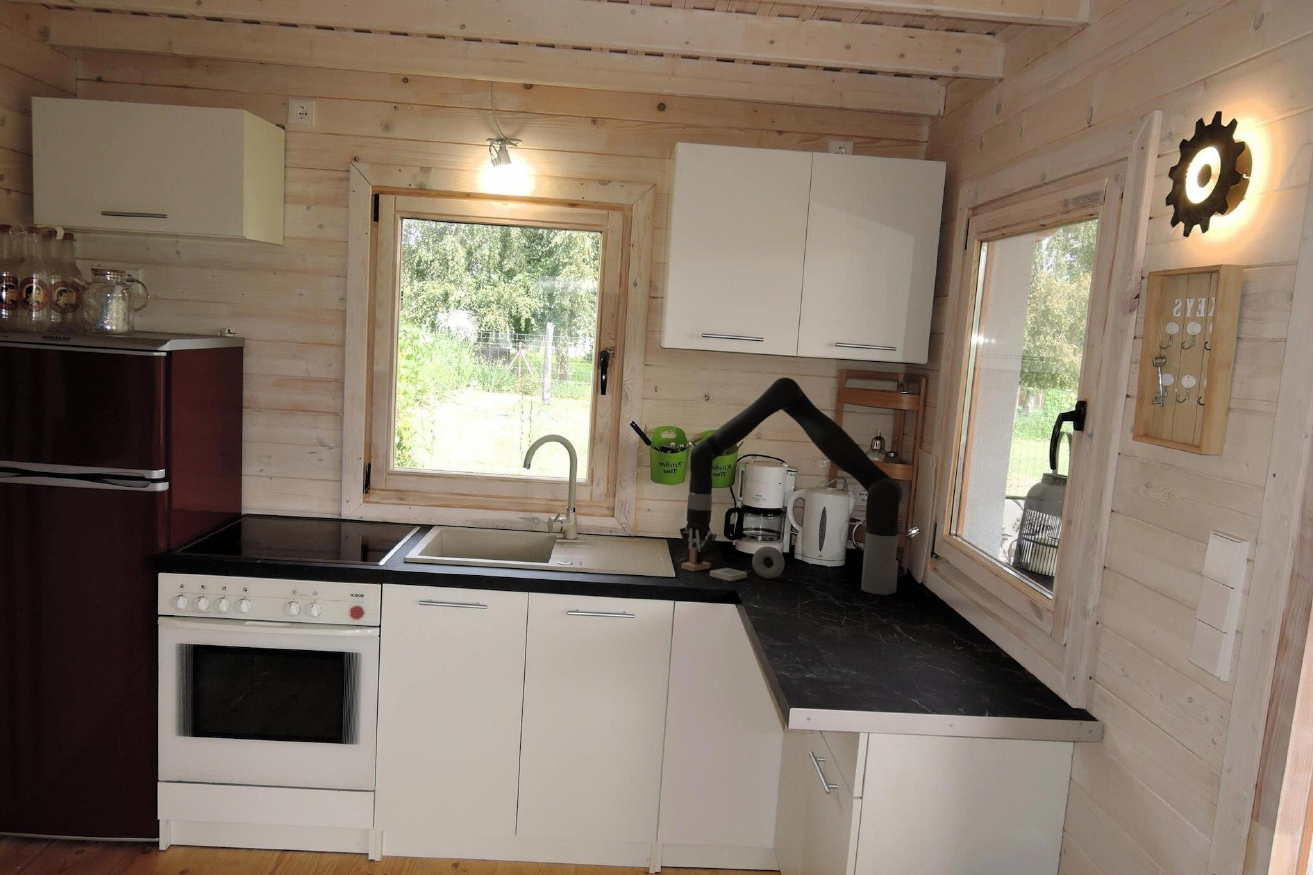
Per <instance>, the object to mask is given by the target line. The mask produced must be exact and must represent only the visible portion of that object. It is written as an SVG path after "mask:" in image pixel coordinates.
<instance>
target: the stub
mask: <svg viewBox="0 0 1313 875" xmlns="http://www.w3.org/2000/svg"><path fill="white" fill-rule="evenodd" d="M689 551H690V557H689V556H688V559H689V560H688V561H687V562H682V563H681V566H680V568H681V569H683V570H688V571H691V572H697V571H702V570H708V569H711V562H706V561H704V560H703V561H702V563H697V562H696V561H697V551H698V550H697V547H692V548H690V549H689Z"/></svg>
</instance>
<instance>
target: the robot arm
mask: <svg viewBox="0 0 1313 875" xmlns="http://www.w3.org/2000/svg"><path fill="white" fill-rule="evenodd" d="M780 411H783V412H784V413H785V414H787V415H788V416H789V417H790V418H792V419H793V420H794V421H795V422H796V423H797V424H799V426H800V427H801V428H802V430H803V431H804V432H805V434H806V435H807V437H809V439H810V441H811V442H812V443H813V444H814V445H815V447H816V448H817V449H818V450H819V451H820V452H821V453H822V454H823V455H824V456H825V457H826V458H827V459H828V460H829V461H830V462H832V463H833V464H834V465H835V466H837V467H838V468H839V469H841V470H842V471H843V472H846V474H848V475H849V476H851V477H852V478H853V479H854V480H856V481H857V482H858V483H859V484H860V486H862V487H863V489H864V490H865V491H866V492H867V494H866V505H865V506H866V507H865V536H864V537H865V538H864V550H863V562H862V571H861V572H862V573H861V574H862V575H861V590H862V591H863V592H866V593H870V594H873V595H875V594H876V595H884V596H888V595H891V594H894V593H896V592H897V582H898V572H899V571H898V570H899V560H897V548H898V537H899V509H900V503H901V501H902V498H903V490H902V487H901V486H900V485H901V484H899V483H898V482H897V480H895V479H894V478H892V477H891V476H890V475H888V474H887V473H886V472H885V471H884V470H882V469H881V468H880V467H879V466H877V464H876V463H875V462H873V461H872V459H871V458H870V457H869V455H867V454H866V452H864V450H863V449H862V448H861V447H860V446H859V445H858V443H857V442H856V441H855V440H854V439H853V438H852V437H851V436H850V435H849V433H847V431H846V430H844V429H843V428H842V427H841V426H840V425H839V424H838V423H837V422H835V421H834V420H833V419H832V418H830V417H829V416H828V415H826V414H825V413H824V412H822V411H821V410H820V409H818V408H817V406H816V405H814V403H813V402H812V401H811V400H810V399H809V397H807V395H806V394H805V393H804V391H803V390H802V388H801V387H800V385H799V384H798V383H797V381H796V380H794V379H792V378H790V377H781V378H778V379H776V380H775V381H774V382H773V383H772V384H771V385H770V386H769V387H768V388H767V389H766V390H765V391H764V393H763V394H761V396H759V397H758V398H757V399H756V400H755V401H754V402H753V403H751V404H750V405H749V406H748V407H746V408H744V409H743V410H742V411H741V412H740V413H739V414H737V415H735V416H734V417H732V418H731V419H730V420H728V421H727V422H726V423H724V424H723V425H722V426H720V427H719V428H718V429H717V430H715V432H714V433H712V434H710V435H709V436H708V437H707V438H705V439H703V440H702V441H700V442H698V443H697V444H696V445H695V446H693V448H692V449H691V451H690V456H689V457H690V459H689V460H690V461H689V464H690V466H689V467H690V478H689V489H688V491H689V492H688V497H687V509H686V521H687V523H686V526H685V527H682V528H679V533H680V535H681V539H682V542H683V545H684V547H687V548H688V550H689V552H688V553H689V554H688V558H689V557H690V548H692V547H697V550H698V551H697V561H696V562H697V563H702V561H703V562H704V559H705V551H709V550H710V549H711V547H712V546H713V544H714V542H715V540H716V538H717V533H713V532H712V531H711V528H710V524H711V521H712V510H713V509H712V507H713V496H712V495H713V494H712V492H713V477H712V473H713V461H715V459H717V458H718V457H720V456H721V455H722V454H723V453H724V452H725V451H727V450H729V449H732V448H733V447H734V446H736V445H737V444H738V443H740V442H741V441H743V440H744V439H745V438H747V437H748V436H749V434H751V433H752V432H753V431H754V430H755V429H756V428H757V427H758V426H759V425H760V424H761V423H763V421H765V420H766V419H767V418H769V417H771V416H772V415H773V414H776V413H777V412H780Z"/></svg>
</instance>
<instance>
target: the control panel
mask: <svg viewBox="0 0 1313 875" xmlns="http://www.w3.org/2000/svg"><path fill="white" fill-rule="evenodd" d="M709 576H710V577H713V578H716V579H720V580H725V581H729V582H732V581H737V580H742V579H745V578H747V577H748V572H745V571H741V570H738V569H733V568H729V567H723V568H717V569H712V570H709Z"/></svg>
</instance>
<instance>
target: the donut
mask: <svg viewBox="0 0 1313 875" xmlns="http://www.w3.org/2000/svg"><path fill="white" fill-rule="evenodd" d="M767 558H770V559H771V560H772V563H773V564H772V566H771V567H767V566H765V564H764V560H765V559H767ZM751 562H752V567H753V570H754V572H755V573H756V574H757V575H758V576H759V577H761V578H763V579H767V580H772V579H776V578H777V577H779V576H780V575H781V574H782V572H783V571H784V569H785V563H786V562H785V559H784V555H783V554H782V552H781V551H780V550H779V549H777V547H774V546H770V545H768V546H767V545H766V546H765V545H764V546H762V547H760V548H758V549H757V550H756V551H755V552H754V554H753V555H752V559H751Z"/></svg>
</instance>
